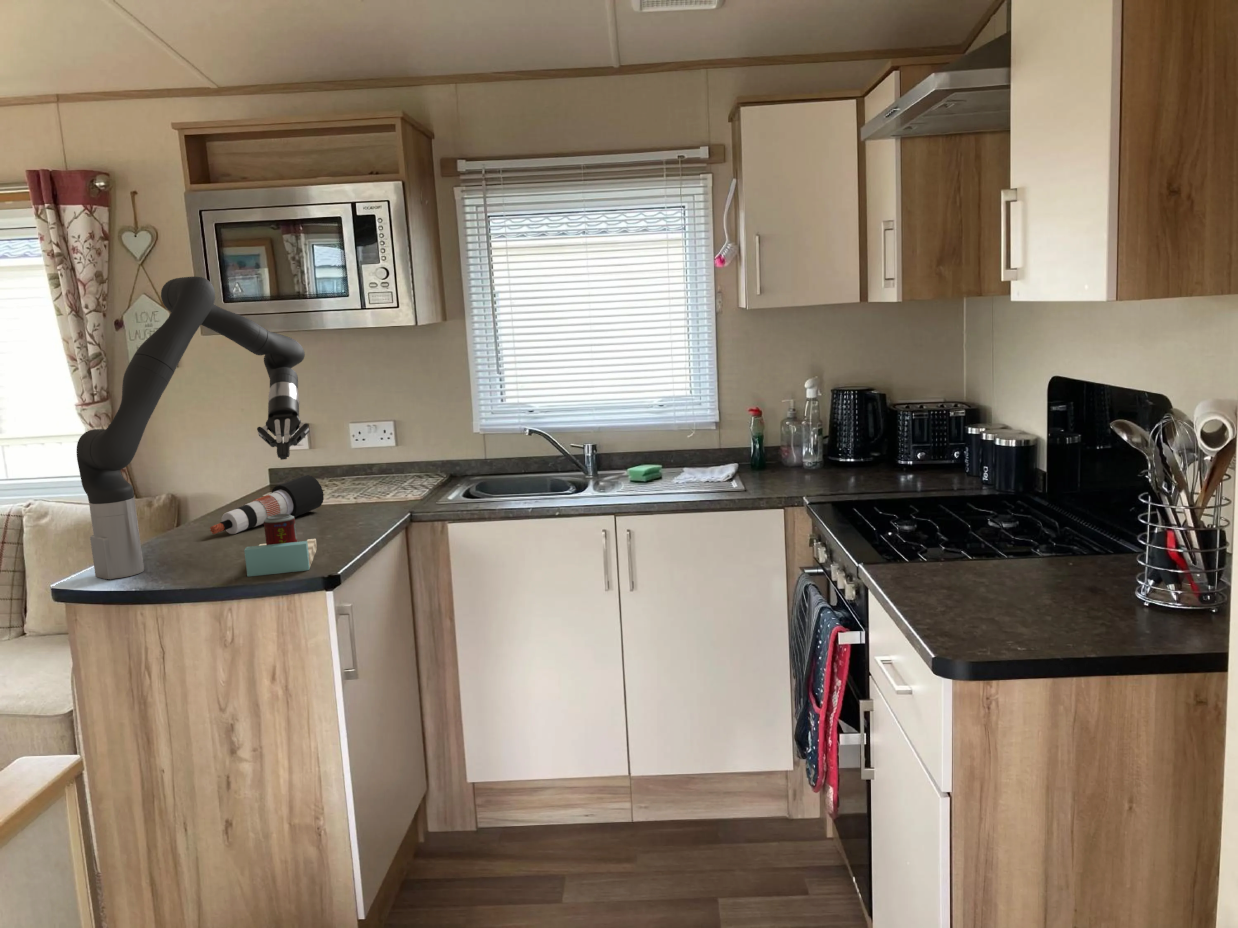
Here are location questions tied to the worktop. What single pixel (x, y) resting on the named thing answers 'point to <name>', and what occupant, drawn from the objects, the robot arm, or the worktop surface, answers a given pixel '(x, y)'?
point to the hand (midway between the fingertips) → (283, 457)
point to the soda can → (280, 529)
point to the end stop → (277, 558)
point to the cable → (274, 505)
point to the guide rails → (309, 549)
